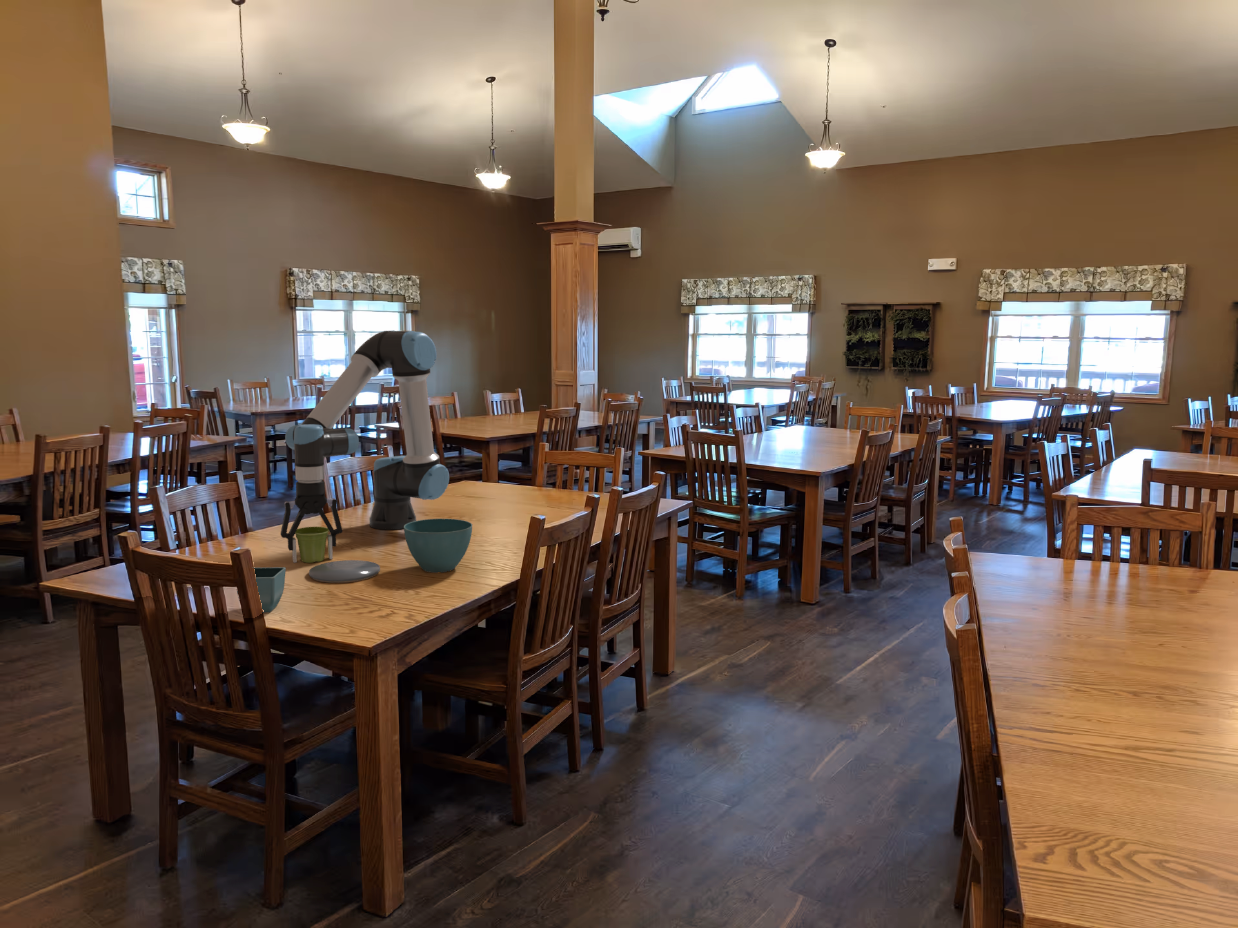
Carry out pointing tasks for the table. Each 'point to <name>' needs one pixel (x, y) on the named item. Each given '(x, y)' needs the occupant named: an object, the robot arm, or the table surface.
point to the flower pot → (270, 586)
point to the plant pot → (312, 543)
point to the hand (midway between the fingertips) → (312, 559)
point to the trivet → (344, 571)
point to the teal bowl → (438, 542)
